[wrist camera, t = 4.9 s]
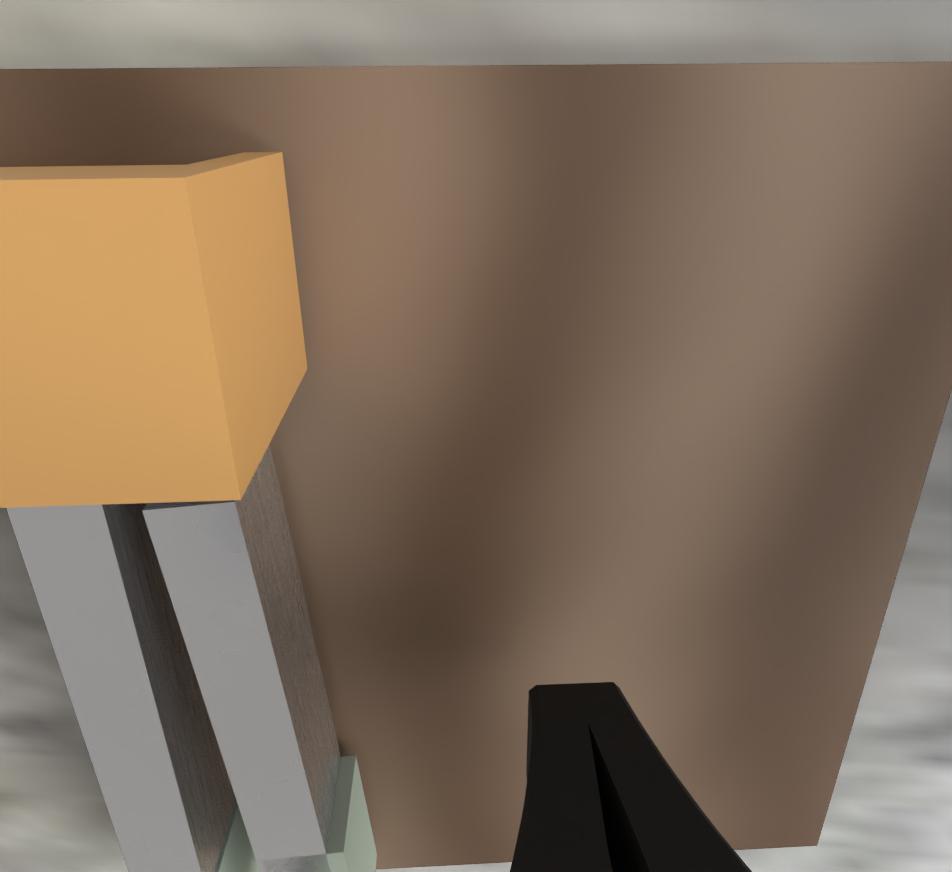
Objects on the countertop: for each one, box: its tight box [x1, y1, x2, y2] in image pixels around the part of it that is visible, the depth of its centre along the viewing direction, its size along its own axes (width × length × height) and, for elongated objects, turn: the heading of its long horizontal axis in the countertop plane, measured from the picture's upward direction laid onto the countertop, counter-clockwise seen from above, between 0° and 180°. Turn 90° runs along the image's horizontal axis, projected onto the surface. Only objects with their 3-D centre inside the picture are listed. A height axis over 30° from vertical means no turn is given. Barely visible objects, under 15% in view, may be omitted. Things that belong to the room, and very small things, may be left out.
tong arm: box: [142, 444, 377, 872], centre depth 12 cm, size 2×10×2 cm, turn 4°
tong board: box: [0, 62, 952, 872], centre depth 12 cm, size 15×16×3 cm
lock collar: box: [0, 152, 307, 508], centre depth 8 cm, size 4×3×4 cm
